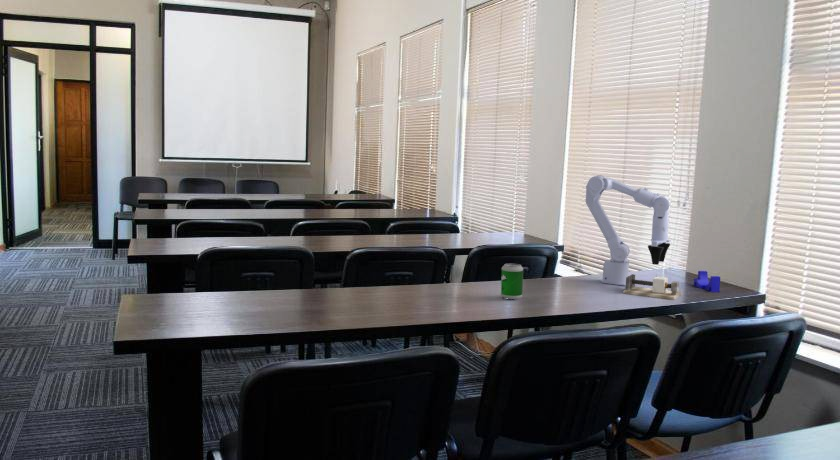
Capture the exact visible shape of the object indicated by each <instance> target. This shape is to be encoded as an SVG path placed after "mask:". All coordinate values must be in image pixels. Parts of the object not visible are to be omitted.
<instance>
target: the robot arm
mask: <svg viewBox="0 0 840 460" xmlns="http://www.w3.org/2000/svg"><path fill="white" fill-rule="evenodd" d="M585 190H586V191H585V205H586V206H587V208H588V210H589V211H590V213H591V215H592V217H593V218H594V220H595V222H596V224H597V226H598V228H599V230H600V231H601V234H602V235H603V237H604V238H605V240H606V243H607V247H608V248H609V253H610V258H609V260H608V259H606V260H604V262H603V266H602V281H601V283H602V284H610V285H617V286H624V287H626V277H628V276H629V271H630V270H629V268H630V260H629V258H628V256H629V255H630V252H631V251H630V247H629V245H628V244H626V243H624V241H623V240H622V237H620V236H619V235H618V232H617V231H616V229H615V227H614V226H613V224H612V222H611V220H610V218H609V216H608V215H607V213H606V211H605V209H604V207H603V206H602V203H601V202H600V200H601V196H602V193H604V191H610V190H611V191H612V190H613V191H617V192H619V193H622V194H625V195H627V196H630V197H632V198H633V200H634V202H636V203H638V204H640V205H642V206H645V207H647V208H653V215H652V223H651V225H652V226H651V227H652V228H651V239H650V241H651V244H649V245H647V248H648V251H649V252H650V253H649V254H650V258H651V259H650V260H651V264H652V265H656V266H657V265H659V263H660V262H662V263H663V262H665V259H666V256H667V255H666V254H667V252H668V249H669V247H670V246H671V239H668V234H669V233H668V232H669V220H670V219H669V217H670V216H669V212H670V211H669V208H670V206H671V202H670V200H669V199H668V198H667V197H666V196H665V195H661V193H655V192H652V191H650V190H649V189H648V188H646V187H644V188H642V187H639V188H634V187H632V186H629V185H628V184H625V183H623V182H621V181H620V180H616V179H614V178H611V177H608V176H607V177H605V176H604V175H601V174H600V175H594V176H592V177H589V180H588V182H587V183H586V186H585Z"/></svg>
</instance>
